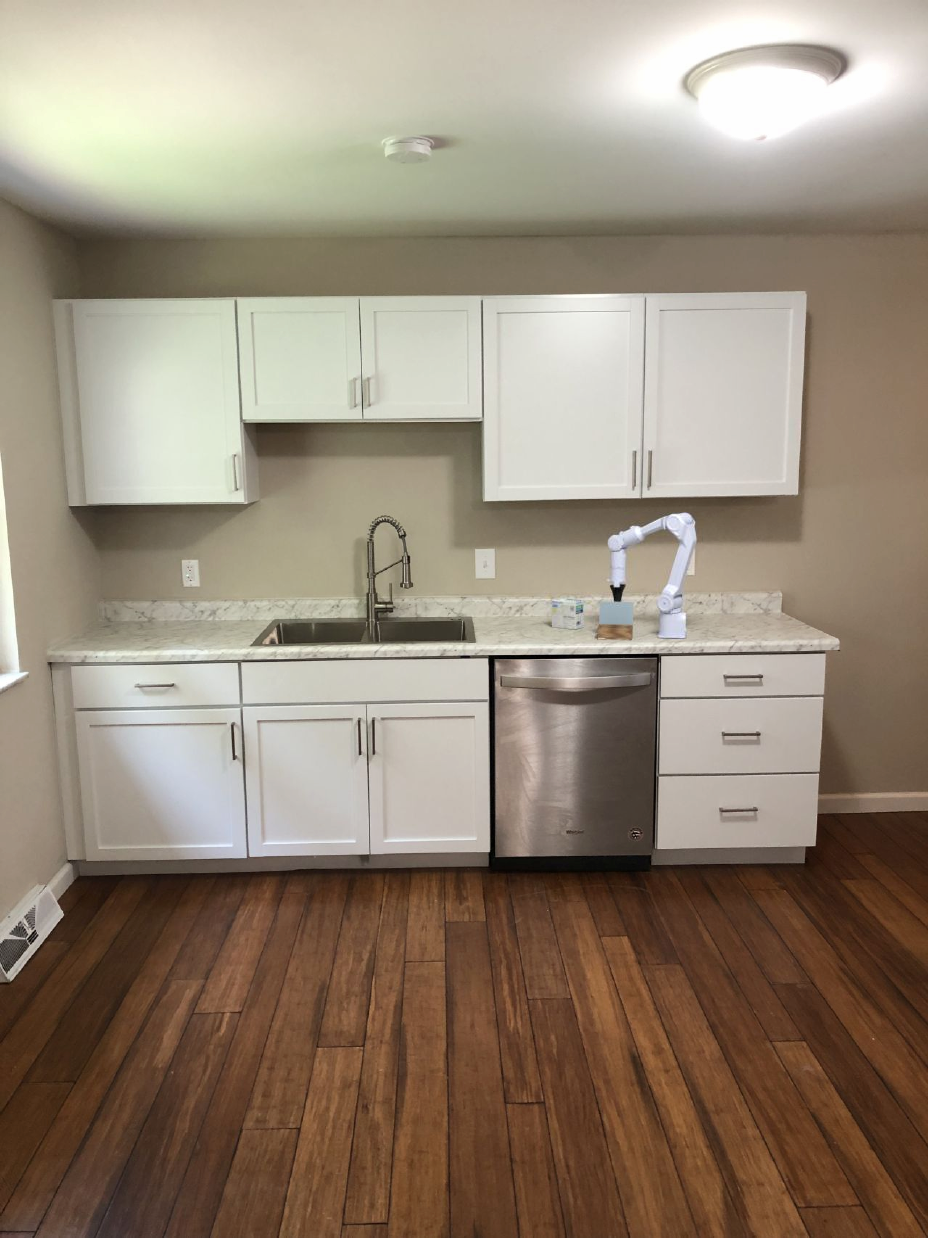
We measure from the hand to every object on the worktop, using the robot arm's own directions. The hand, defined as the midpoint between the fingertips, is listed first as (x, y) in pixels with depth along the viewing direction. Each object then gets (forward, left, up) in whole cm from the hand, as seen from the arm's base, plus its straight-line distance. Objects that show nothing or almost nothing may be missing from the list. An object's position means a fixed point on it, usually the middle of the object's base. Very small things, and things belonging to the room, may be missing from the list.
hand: (617, 604), depth 346 cm
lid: (0, +9, -2) cm, 9 cm away
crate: (0, +14, -10) cm, 17 cm away
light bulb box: (+19, -5, -10) cm, 22 cm away
